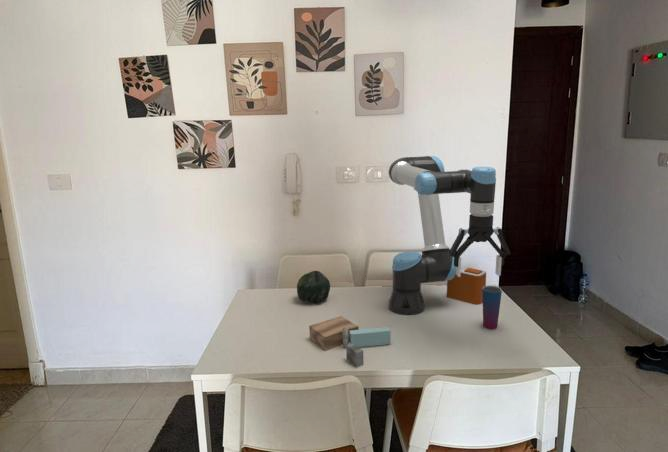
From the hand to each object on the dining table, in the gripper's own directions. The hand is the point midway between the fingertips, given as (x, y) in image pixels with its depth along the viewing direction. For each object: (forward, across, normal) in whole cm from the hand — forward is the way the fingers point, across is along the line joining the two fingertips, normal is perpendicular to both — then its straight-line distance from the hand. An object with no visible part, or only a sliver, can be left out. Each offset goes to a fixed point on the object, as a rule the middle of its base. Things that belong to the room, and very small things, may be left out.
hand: (478, 275), depth 148 cm
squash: (+25, -58, +41) cm, 76 cm away
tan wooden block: (+24, -46, -3) cm, 52 cm away
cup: (+24, +9, +10) cm, 28 cm away
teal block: (+24, -37, -2) cm, 44 cm away
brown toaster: (+25, +9, +38) cm, 46 cm away
